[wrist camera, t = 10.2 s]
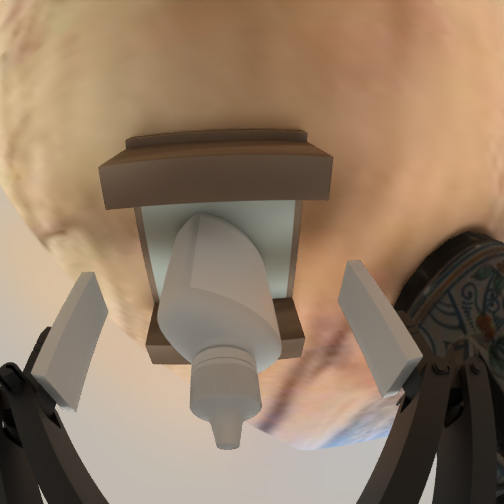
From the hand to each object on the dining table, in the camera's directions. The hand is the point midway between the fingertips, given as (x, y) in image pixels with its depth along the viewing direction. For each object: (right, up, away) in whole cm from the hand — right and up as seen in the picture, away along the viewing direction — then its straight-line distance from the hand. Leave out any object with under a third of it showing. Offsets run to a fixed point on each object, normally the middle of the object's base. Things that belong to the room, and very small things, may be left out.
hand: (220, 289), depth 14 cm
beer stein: (+21, -3, +11) cm, 24 cm away
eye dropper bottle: (0, +2, +3) cm, 4 cm away
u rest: (-1, +3, +4) cm, 5 cm away
